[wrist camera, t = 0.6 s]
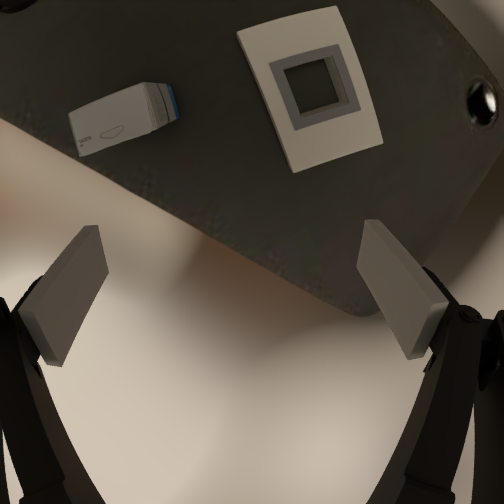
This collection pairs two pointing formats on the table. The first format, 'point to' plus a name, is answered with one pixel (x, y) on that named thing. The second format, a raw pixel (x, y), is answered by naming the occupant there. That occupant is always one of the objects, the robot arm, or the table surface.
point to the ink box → (122, 116)
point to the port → (342, 75)
